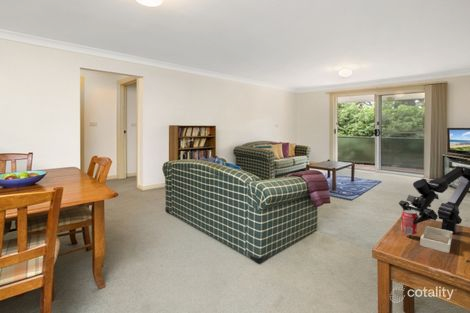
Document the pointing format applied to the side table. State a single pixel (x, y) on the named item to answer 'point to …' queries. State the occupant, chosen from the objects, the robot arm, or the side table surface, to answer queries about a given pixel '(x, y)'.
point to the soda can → (409, 222)
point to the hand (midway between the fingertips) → (407, 221)
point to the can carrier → (436, 239)
